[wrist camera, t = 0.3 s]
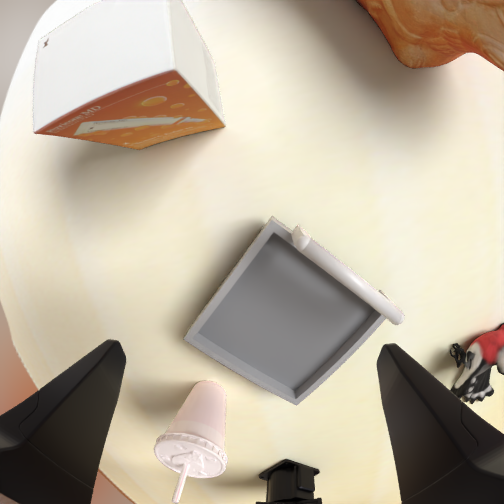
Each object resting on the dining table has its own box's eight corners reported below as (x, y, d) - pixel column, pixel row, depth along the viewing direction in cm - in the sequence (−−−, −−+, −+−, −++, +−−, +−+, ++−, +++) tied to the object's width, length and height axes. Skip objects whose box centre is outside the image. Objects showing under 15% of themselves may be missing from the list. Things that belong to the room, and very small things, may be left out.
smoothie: (173, 396, 28) (131, 493, 15) (193, 361, 27) (145, 471, 13) (224, 419, 29) (201, 520, 15) (249, 387, 27) (233, 503, 13)
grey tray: (294, 382, 26) (298, 439, 19) (193, 320, 25) (166, 369, 18) (384, 287, 23) (421, 328, 16) (278, 205, 22) (281, 216, 15)
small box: (138, 151, 22) (29, 136, 9) (131, 88, 21) (35, 39, 8) (229, 128, 21) (176, 69, 9) (217, 62, 20) (167, -30, 7)
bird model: (439, 324, 35) (498, 371, 28) (395, 401, 30) (461, 448, 23) (519, 245, 18) (586, 318, 11) (492, 365, 13) (565, 433, 6)
